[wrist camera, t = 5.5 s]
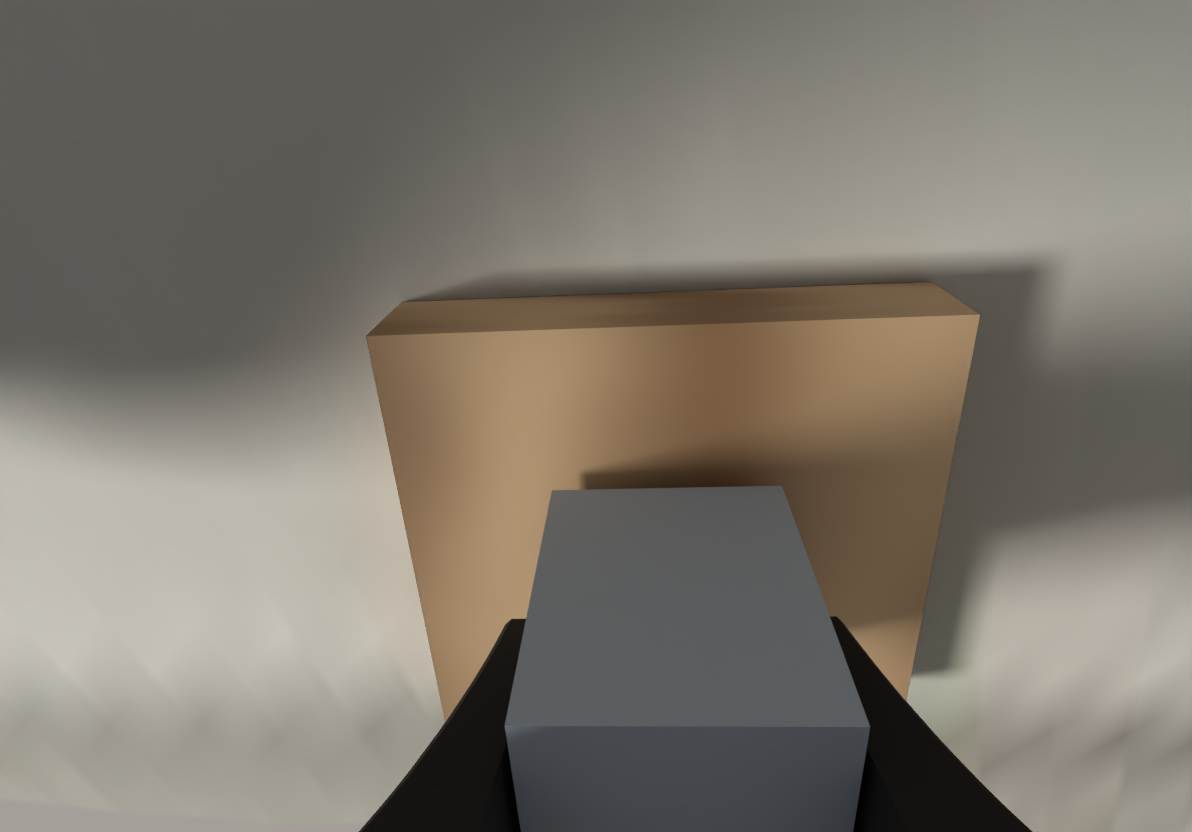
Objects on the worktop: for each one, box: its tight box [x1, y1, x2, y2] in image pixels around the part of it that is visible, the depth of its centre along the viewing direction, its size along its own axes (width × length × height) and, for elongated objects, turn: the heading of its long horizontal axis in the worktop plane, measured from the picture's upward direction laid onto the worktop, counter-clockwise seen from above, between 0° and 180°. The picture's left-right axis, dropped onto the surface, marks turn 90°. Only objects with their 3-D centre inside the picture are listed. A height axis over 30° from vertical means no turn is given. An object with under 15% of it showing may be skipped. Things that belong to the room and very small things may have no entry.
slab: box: [366, 282, 980, 722], centre depth 14 cm, size 10×10×2 cm
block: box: [505, 486, 870, 832], centre depth 11 cm, size 4×4×5 cm
